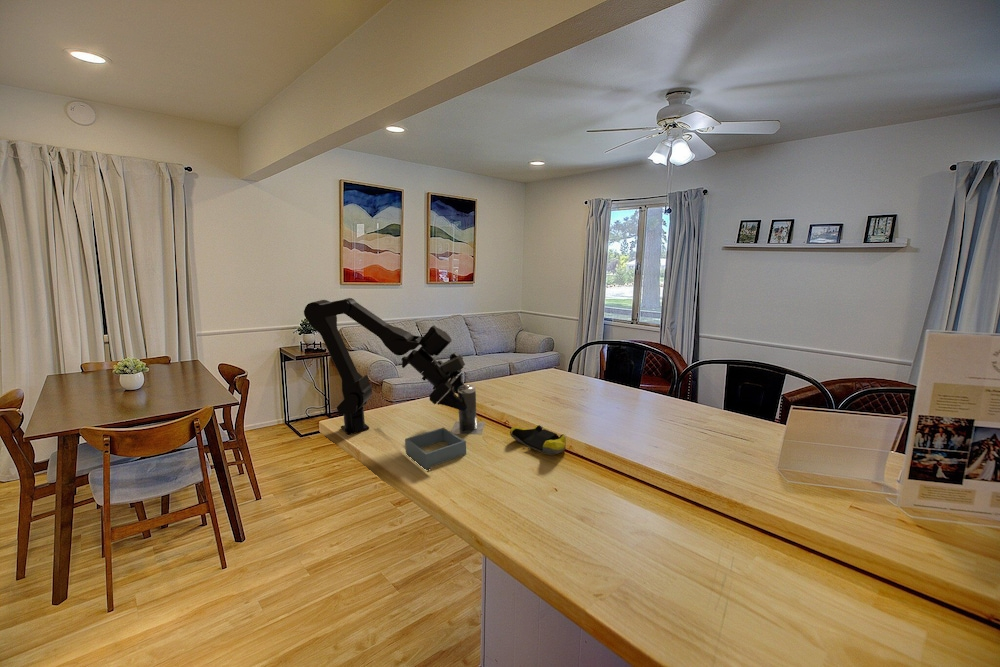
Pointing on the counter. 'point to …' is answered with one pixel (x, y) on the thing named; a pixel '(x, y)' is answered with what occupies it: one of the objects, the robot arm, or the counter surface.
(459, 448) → the bin
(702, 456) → the counter surface
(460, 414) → the battery
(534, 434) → the black and yellow shoe
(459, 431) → the plate
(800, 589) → the counter surface
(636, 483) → the counter surface
